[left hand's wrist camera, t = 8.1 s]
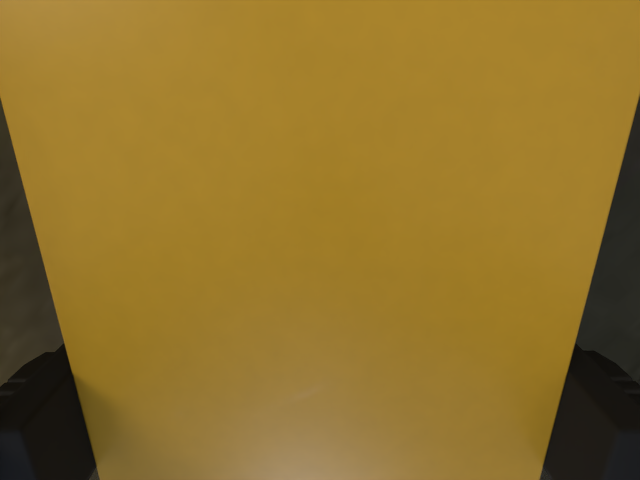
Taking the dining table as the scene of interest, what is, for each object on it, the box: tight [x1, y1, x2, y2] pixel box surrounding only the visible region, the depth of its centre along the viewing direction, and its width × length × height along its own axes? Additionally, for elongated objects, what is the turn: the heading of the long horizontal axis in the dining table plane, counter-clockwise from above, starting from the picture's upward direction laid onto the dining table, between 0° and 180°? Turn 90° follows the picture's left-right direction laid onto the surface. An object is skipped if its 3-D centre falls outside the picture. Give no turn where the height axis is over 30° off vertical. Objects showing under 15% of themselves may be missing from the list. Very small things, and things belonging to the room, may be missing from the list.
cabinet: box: [0, 0, 640, 480], centre depth 12 cm, size 20×10×10 cm, turn 0°
